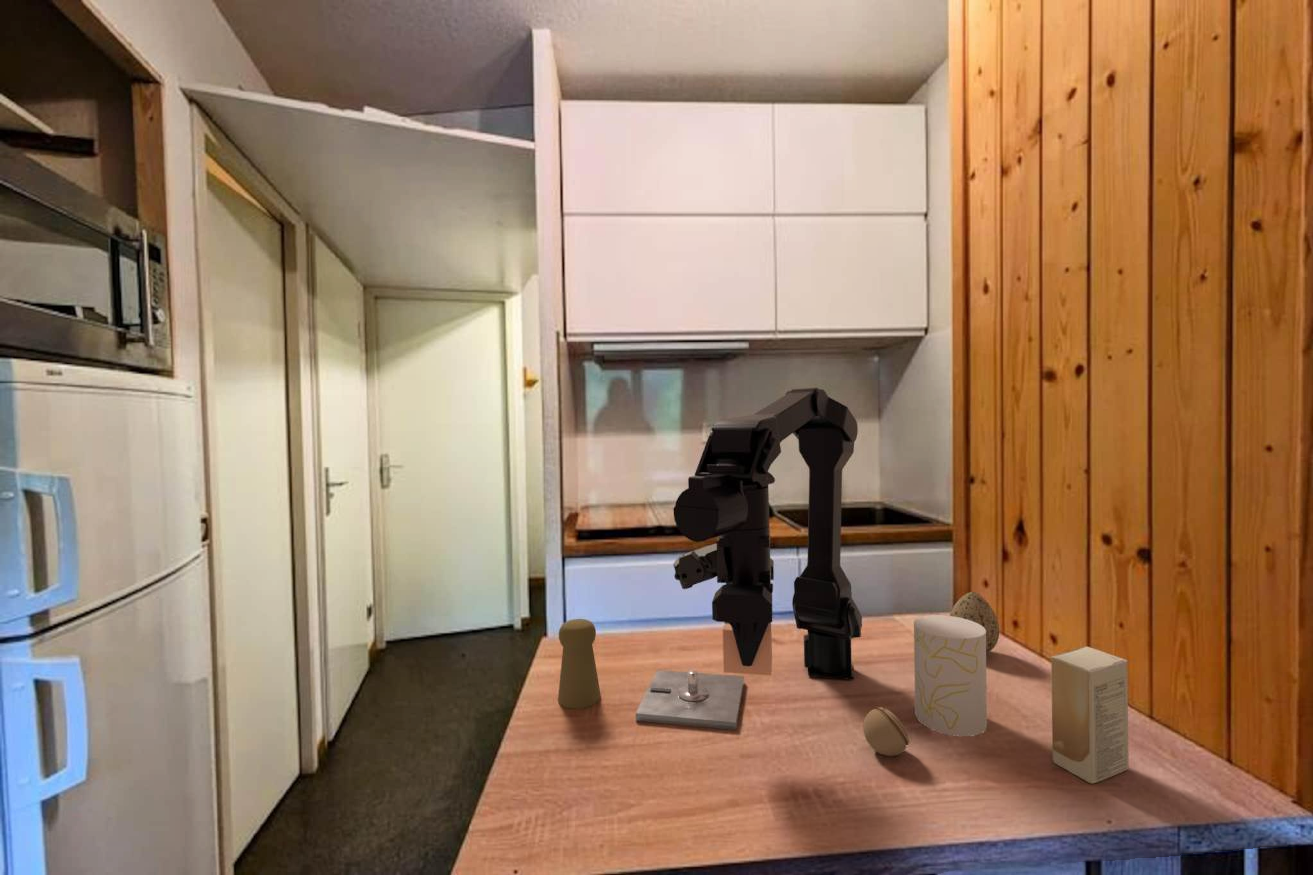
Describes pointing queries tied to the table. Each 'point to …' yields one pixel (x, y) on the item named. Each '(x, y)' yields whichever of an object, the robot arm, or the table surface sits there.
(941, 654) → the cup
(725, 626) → the hollow block with latch
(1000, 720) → the table surface
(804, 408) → the robot arm
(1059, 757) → the skincare box
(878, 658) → the table surface
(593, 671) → the cork
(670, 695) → the grey square base plate
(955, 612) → the decorative egg
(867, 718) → the beige rounded piece
